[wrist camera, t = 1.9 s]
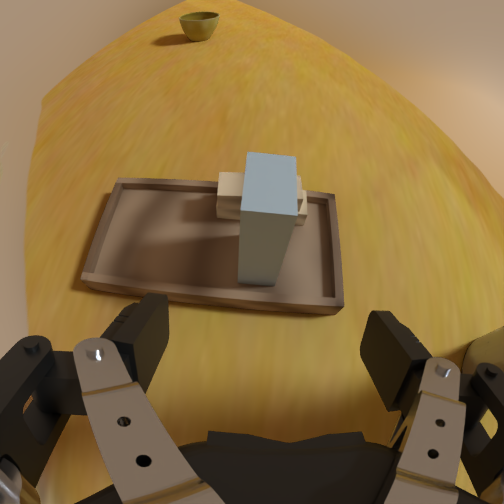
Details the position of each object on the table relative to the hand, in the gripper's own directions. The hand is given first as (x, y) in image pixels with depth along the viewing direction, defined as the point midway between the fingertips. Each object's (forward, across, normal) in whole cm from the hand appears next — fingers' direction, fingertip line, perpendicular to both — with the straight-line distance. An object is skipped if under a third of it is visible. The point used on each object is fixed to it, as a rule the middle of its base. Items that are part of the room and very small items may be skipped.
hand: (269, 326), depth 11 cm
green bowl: (+63, +18, -41) cm, 77 cm away
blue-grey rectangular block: (+17, 0, +3) cm, 17 cm away
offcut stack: (+21, 0, -2) cm, 21 cm away
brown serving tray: (+20, +4, +2) cm, 20 cm away
